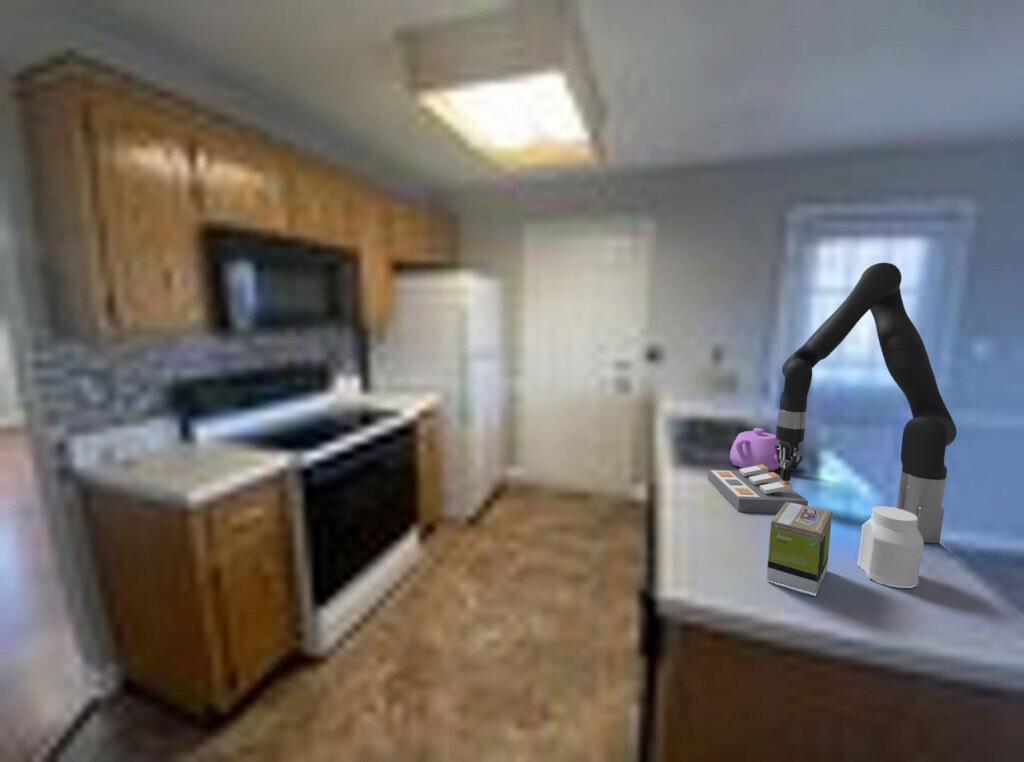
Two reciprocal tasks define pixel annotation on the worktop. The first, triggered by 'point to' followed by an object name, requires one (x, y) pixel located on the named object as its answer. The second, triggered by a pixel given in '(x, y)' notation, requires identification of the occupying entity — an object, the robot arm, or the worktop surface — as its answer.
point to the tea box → (799, 546)
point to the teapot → (755, 449)
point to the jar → (891, 547)
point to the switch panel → (751, 492)
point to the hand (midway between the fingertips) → (785, 480)
